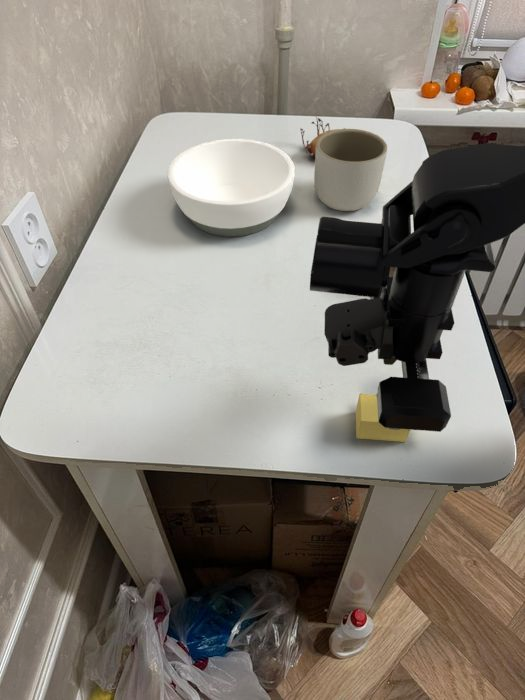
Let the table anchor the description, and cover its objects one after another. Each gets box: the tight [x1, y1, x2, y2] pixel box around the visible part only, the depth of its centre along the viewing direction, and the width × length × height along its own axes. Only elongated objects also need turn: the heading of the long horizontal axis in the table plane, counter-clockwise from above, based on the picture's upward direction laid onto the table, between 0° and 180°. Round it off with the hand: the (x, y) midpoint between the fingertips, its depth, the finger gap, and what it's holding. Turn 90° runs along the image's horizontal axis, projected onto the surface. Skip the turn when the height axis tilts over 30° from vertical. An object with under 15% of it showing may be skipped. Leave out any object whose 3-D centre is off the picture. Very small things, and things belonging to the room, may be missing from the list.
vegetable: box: [299, 116, 340, 158], centre depth 104 cm, size 16×11×10 cm
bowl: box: [167, 138, 296, 238], centre depth 91 cm, size 22×22×8 cm
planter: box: [313, 128, 388, 212], centre depth 92 cm, size 12×12×11 cm
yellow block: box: [355, 393, 411, 443], centre depth 61 cm, size 6×4×4 cm, turn 85°
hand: (390, 394), depth 58 cm, fingers open, 9 cm apart
